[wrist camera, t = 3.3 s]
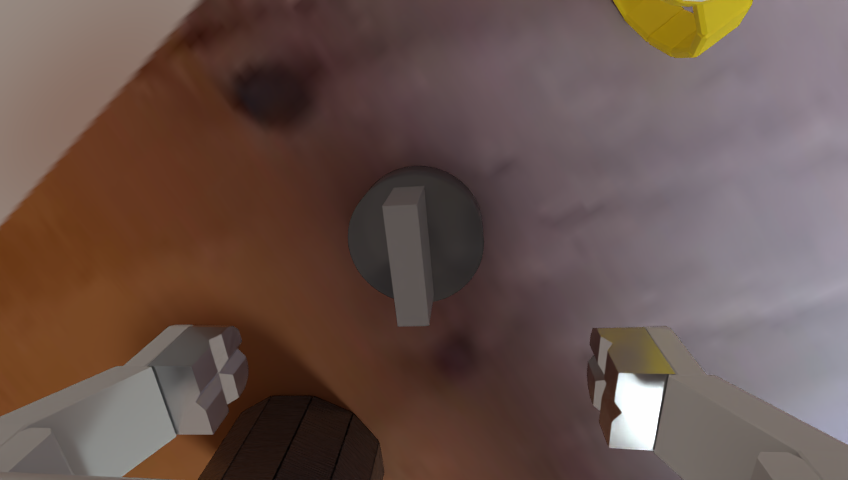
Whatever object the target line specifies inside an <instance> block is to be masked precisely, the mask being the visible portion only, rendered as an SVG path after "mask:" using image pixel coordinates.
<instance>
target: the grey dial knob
mask: <svg viewBox="0 0 848 480" xmlns="http://www.w3.org/2000/svg"><path fill="white" fill-rule="evenodd" d="M348 245H349V250H350V254H351V257H352V260H353V262H354V264H355V266H356V268H357V270H358V271H359V273H360V274H361V275H362V277H363V278H364V279H365V280H366V281H367V282H368V283H369V284H370V285H371V286H372V287H374V288H375V289H376V290H378V291H379V292H381V293H383V294H385V295H387V296H388V297H391V298H394V301H395V309H396V317H397V324H398V326H429V323H430V317H431V310H432V304H433V302H434V301H438V300H441V299H444V298H447V297H449V296H451V295H453V294H454V293H456V292H458V291H459V290H460V289H462V288H463V287H464V286H465V285H466V284H467V283H468V282H469V281H470V280H471V278H472V277H473V276H474V274H475V273H476V271H477V269H478V267H479V265H480V261H481V258H482V254H483V245H484V239H483V225H482V216H481V212H480V209H479V206H478V204H477V201H476V200H475V198H474V196H473V195H472V193H471V192H470V191H469V189H468V188H467V187H466V186H465V185H464V184H463V183H462V182H461V181H459V180H458V179H457V178H455V177H454V176H452V175H450V174H449V173H447V172H444V171H442V170H439V169H436V168H432V167H425V166H411V167H404V168H401V169H397V170H395V171H392V172H390V173H388V174H387V175H385V176H383V177H382V178H381V179H379V180H378V181H377V182H376V183H375V184H374V185H373V186H372V187H371V188H370V189H369V191H368V192H367V193H366V194H365V196H364V197H363V198H362V199H361V201H360V202H359V204H358V205H357V206H356V208H355V210H354V212H353V214H352V217H351V220H350V223H349V229H348Z"/></svg>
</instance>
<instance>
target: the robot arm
mask: <svg viewBox="0 0 848 480" xmlns="http://www.w3.org/2000/svg"><path fill="white" fill-rule="evenodd" d="M241 342H242V339H241V336H240V333H239V330H238V329H237V328H235V327H234V326H219V325H173V326H169V327H168V328H166V329H165V330H164V331H163V332H162V333H161V334H160V335H158V336H157V337H156V338H155V339H154V340H153V341H151V342H150V343H149V344H148V345H147V346H146V347H145V348H143V349H142V350H141V351H140V352H139V353H138V354H136V355H135V356H134V357H133V358H132V359H131V360H130V361H128V362H127V363H126V364H125V365H124V366H116V367H114V368H111V369H109V370H107V371H104V372H102V373H100V374H97V375H95V376H93V377H91V378H88V379H86V380H84V381H81V382H79V383H77V384H75V385H72V386H70V387H68V388H65V389H63V390H61V391H58V392H56V393H54V394H52V395H49V396H47V397H45V398H42V399H40V400H38V401H35V402H33V403H31V404H29V405H26V406H24V407H22V408H19V409H17V410H15V411H12V412H10V413H8V414H6V415H3V416H1V417H0V480H169V479H148V478H126V477H122V476H123V475H125V474H126V473H127V472H129V471H130V470H131V469H133V468H134V467H136V466H137V465H138V464H140V463H141V462H142V461H144V460H145V459H146V458H148V457H149V456H150V455H152V454H153V453H155V452H156V451H157V450H159V449H160V448H161V447H163V446H164V445H165V444H167V443H168V442H169V441H171V440H172V439H174V438H175V437H176V434H195V435H213V434H214V433H215V431H216V430H217V428H218V427H219V425H220V424H221V423H222V421H223V420H224V418H225V417H226V415H227V414H228V412H229V409H228V404H229V403H231V402H232V401H234V400H235V399H237V398H239V396H240V395H241V393H242V392H243V390H244V389H245V386H246V382H247V379H248V363H247V359H246V356H245V355H244V354H242V353H241V352H240V351H239V350H238V348H239V346H240V344H241ZM590 346H591V349H592V351H593V353H594V356H593V357H592V358H591V359H590V360H589V361H588V368H587V381H588V390H589V394H590V398H591V401H592V404H593V406H594V407H596V408H597V409H598V410H600V417H599V423H600V426H601V429H602V431H603V434H604V437H605V439H606V442H607V445H608V447H609V448H618V449H635V450H651V451H654V453H655V454H656V455H657V456H658V457H659V458H660V459H661V460H662V461H664V462H665V463H666V464H667V465H668V466H669V467H670V468H671V469H672V470H673V471H674V472H675V473H677V474H678V475H679V476H680V477H681V478H682V479H683V480H848V445H847V444H845V443H843V442H841V441H839V440H837V439H835V438H833V437H832V436H830V435H828V434H826V433H824V432H822V431H820V430H818V429H816V428H814V427H812V426H811V425H809V424H807V423H805V422H803V421H801V420H799V419H797V418H795V417H793V416H791V415H790V414H788V413H786V412H784V411H782V410H780V409H778V408H776V407H774V406H772V405H771V404H769V403H767V402H765V401H763V400H761V399H759V398H757V397H755V396H753V395H751V394H750V393H748V392H746V391H744V390H742V389H740V388H738V387H736V386H734V385H732V384H730V383H729V382H727V381H725V380H723V379H721V378H719V377H717V376H715V375H706V373H705V372H704V371H703V370H702V368H701V367H700V366H699V364H698V363H697V362H696V361H695V359H694V358H693V357H692V355H691V354H690V353H689V351H688V350H687V349H686V348H685V346H684V345H683V344H682V342H681V341H680V340H679V339H678V337H677V336H676V335H675V333H674V332H673V331H672V329H671V328H669V327H667V326H656V327H625V328H593V329H592V332H591V337H590Z"/></svg>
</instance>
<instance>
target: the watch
mask: <svg viewBox="0 0 848 480" xmlns="http://www.w3.org/2000/svg"><path fill="white" fill-rule="evenodd" d="M613 1H614V3H615V5H616V6H617V8H618V10H619V11H620V13H621V14H622V16H623V18H624V20H625V21H626V22H627V23H628V24H629V25H630V26H631V27H632V28H633V29H634V30H635V31H636V32H637V33H638V34H639V35H640V36H641V37H642V38H643V39H644V40H645V41H646V42H649V44H650V45H652V46H653V47H655V48H657V49H659V50H660V51H662V52H664V53H666V54H667V55H669V56H671V57H674V58H693V57H697V56H699V55H700V54H702V53H703V52H704V51H706V50H707V49H708V48H710V47H711V46H712V45H714V44H715V43H716V42H718V41H719V40H720V39H722V38H723V37H724V36H726V35H727V34H728V33H730V32H731V31H732V30H734V29H735V28H736V27H738V26H739V24H740V23H741V21H742V19H743V18H744V16H745V15H746V13H747V12H748V10H749V8H750V7H751V5H752V1H753V0H613ZM681 6H686V7H690V6H692V7H693V12H694V13H692V12H689V11H687V10H684V8H683V7H681Z"/></svg>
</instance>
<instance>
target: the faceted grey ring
mask: <svg viewBox="0 0 848 480" xmlns="http://www.w3.org/2000/svg"><path fill="white" fill-rule="evenodd" d="M378 442H379V441H378V440H377V439H376V438H375V437H374V435H373V434H372V433H371V432H370V431H369V430H368V429H367V428H366V427H365V426H364V424H363V423H362V422H361V421H360V420H359V419H358V418H357V417H356V416H355V414H352V412H350V411H347V410H345V409H343V408H340V407H338V406H336V405H333V404H331V403H329V402H326V401H324V400H322V399H319V398H317V397H315V396H314V397H313V398H312V396H272V397H271V396H270V397H268V398H267V399H265V400H263V401H261V402H259V403H258V404H256V405H254V406H252V407H250V408H249V409H247V410H245V411H243V412H242V413H241V414H240V416H239V417H238V419H237V420H236V422H235V423H234V425H233V426H232V428H231V429H230V431H229V433H228V434H227V436H226V437H225V439H224V440H223V442H222V443H221V445H220V446H219V448H218V449H217V451H216V452H215V454H214V455H213V457H212V459H211V460H210V462H209V463H208V465H207V466H206V468H205V469H204V471H203V472H202V474H201V475H200V477H199V478H198V480H383V476H384V467H383V461H382V455H381V449H380V443H378Z"/></svg>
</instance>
